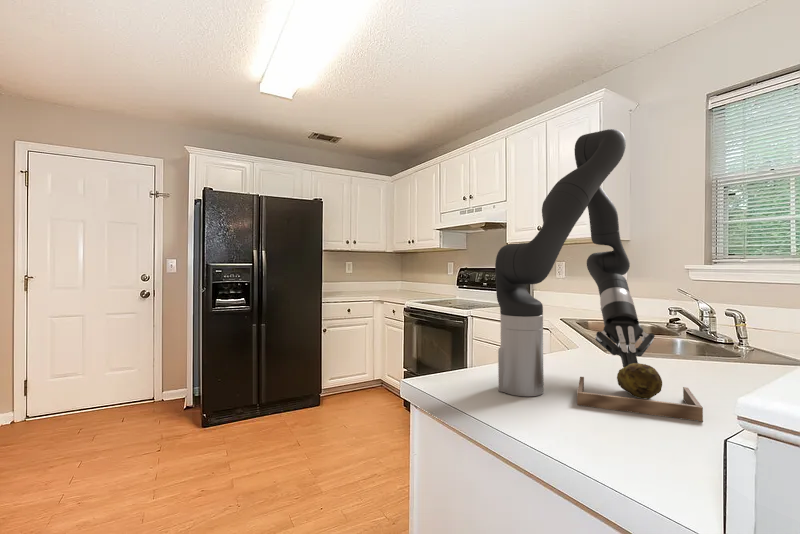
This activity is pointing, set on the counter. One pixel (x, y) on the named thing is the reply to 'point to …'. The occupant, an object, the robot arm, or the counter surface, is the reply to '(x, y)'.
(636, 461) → the counter surface
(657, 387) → the potato
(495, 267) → the robot arm
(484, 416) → the counter surface
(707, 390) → the counter surface
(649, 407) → the tray
